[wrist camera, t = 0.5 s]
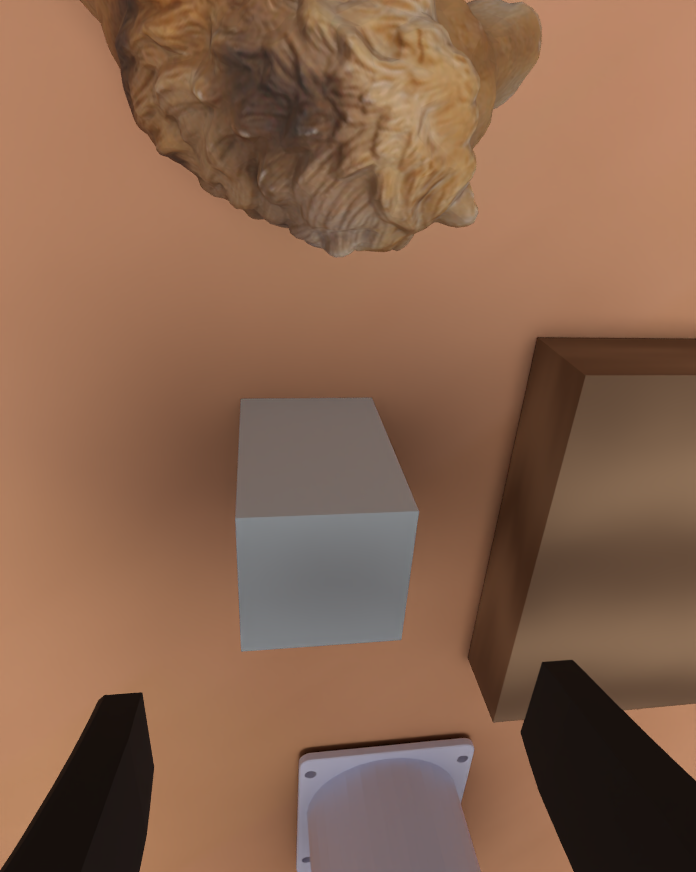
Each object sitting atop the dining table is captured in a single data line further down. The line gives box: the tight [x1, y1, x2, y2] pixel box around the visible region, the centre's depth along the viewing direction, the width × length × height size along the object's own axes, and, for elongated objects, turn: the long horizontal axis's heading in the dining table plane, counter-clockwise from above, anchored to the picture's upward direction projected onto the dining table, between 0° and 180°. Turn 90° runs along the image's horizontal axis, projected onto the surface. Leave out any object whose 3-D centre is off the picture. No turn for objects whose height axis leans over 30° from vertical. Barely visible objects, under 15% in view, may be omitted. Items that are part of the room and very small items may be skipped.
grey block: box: [235, 398, 419, 651], centre depth 16 cm, size 4×4×6 cm
